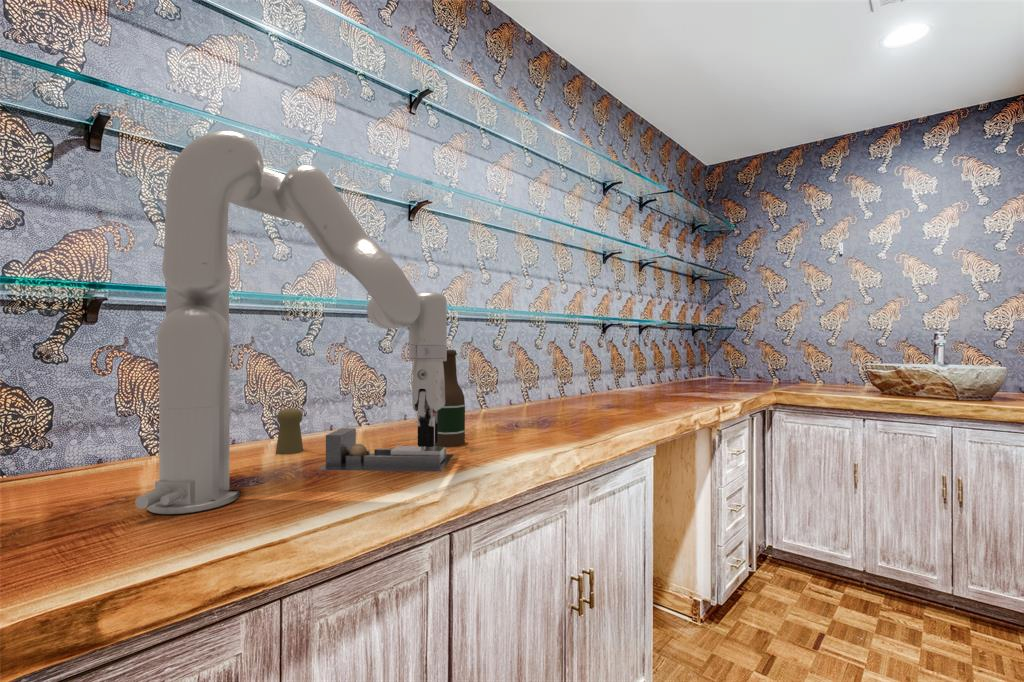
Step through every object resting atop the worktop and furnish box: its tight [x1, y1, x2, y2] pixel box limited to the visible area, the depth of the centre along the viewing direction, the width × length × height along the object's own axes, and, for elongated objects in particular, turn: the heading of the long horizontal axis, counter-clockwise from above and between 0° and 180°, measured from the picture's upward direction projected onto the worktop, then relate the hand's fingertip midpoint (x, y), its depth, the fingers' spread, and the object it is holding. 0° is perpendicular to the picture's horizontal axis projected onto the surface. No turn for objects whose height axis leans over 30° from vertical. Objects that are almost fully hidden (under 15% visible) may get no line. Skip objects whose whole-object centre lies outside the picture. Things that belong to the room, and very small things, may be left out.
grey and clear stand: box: [391, 411, 446, 463], centre depth 99 cm, size 4×10×10 cm, turn 87°
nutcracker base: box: [316, 427, 454, 473], centre depth 99 cm, size 14×24×8 cm, turn 87°
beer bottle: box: [435, 349, 466, 448], centre depth 117 cm, size 8×8×24 cm
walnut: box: [349, 443, 368, 460], centre depth 100 cm, size 4×4×4 cm
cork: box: [274, 407, 304, 456], centre depth 109 cm, size 6×6×11 cm
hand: (427, 443), depth 99 cm, fingers closed on grey and clear stand, 2 cm apart
